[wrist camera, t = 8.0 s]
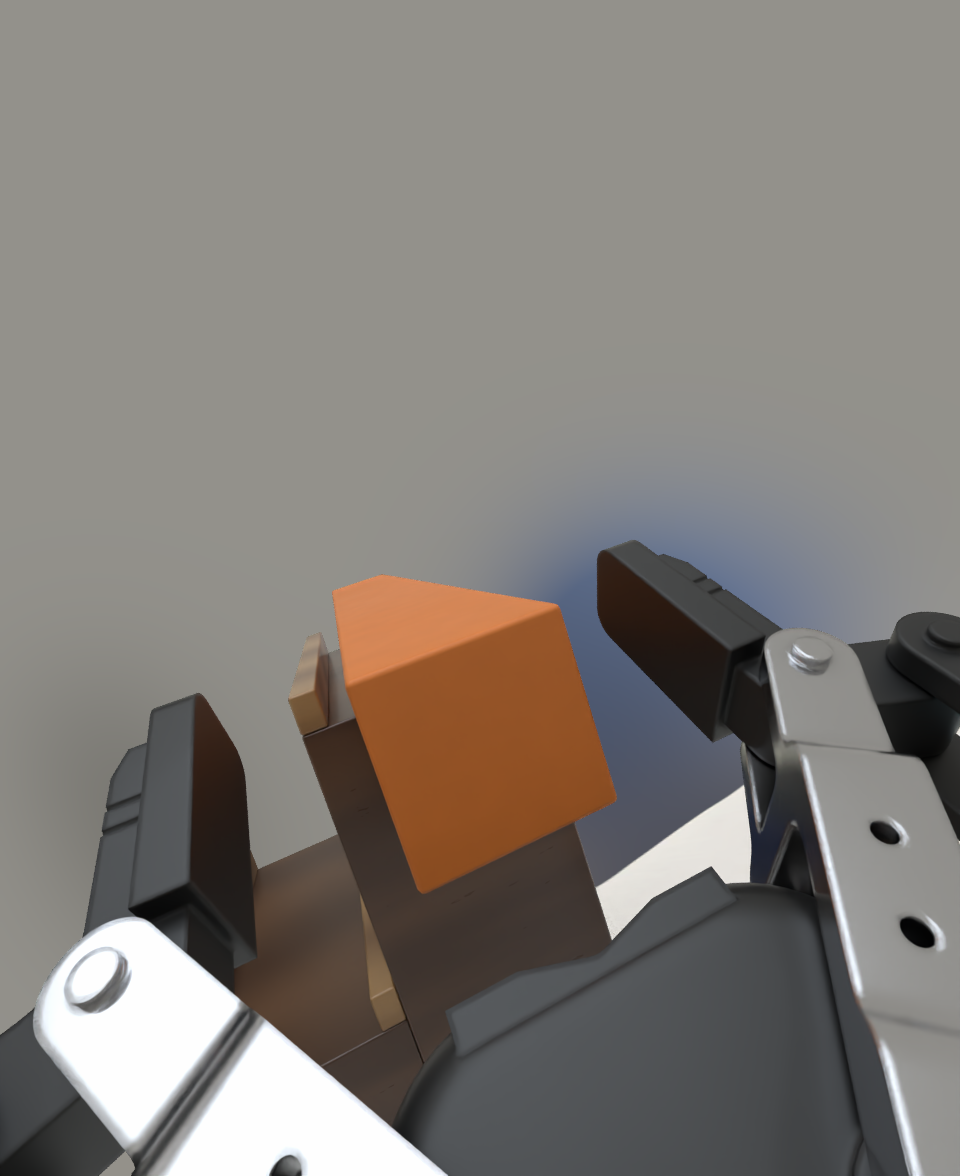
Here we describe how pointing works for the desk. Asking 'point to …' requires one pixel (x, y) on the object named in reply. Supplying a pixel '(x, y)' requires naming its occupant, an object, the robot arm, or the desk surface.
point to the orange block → (468, 720)
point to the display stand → (394, 917)
